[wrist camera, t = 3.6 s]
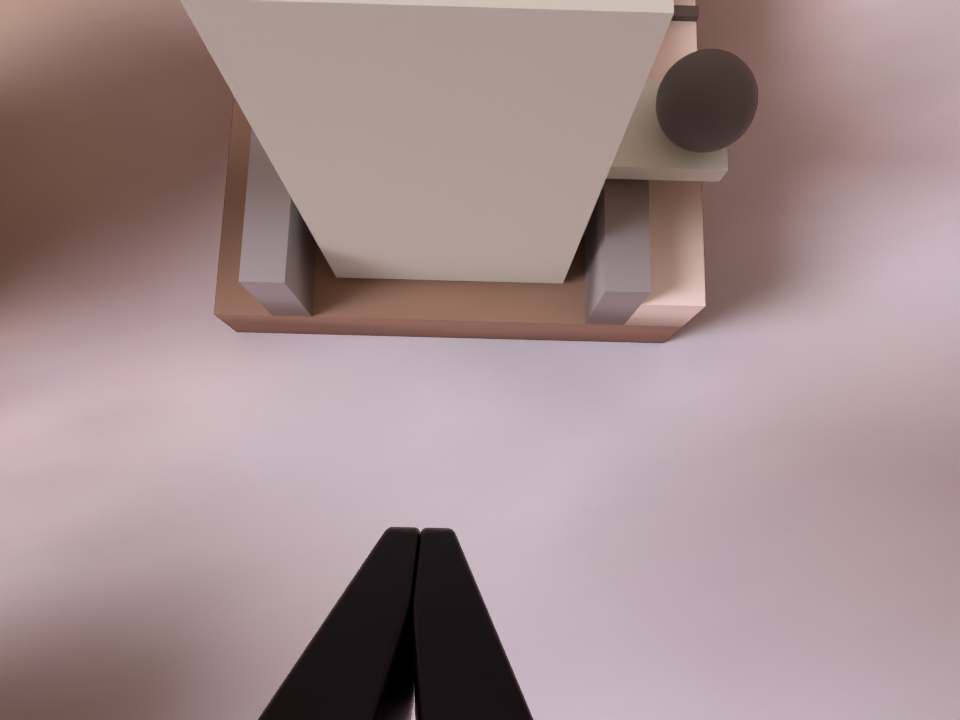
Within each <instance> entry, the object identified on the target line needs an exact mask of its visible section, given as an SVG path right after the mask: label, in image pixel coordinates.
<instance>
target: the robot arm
mask: <svg viewBox="0 0 960 720" xmlns="http://www.w3.org/2000/svg"><path fill="white" fill-rule="evenodd" d="M414 692H415V719H416V720H533V717H532V715H531V713H530V710H529V708H528V706H527V703H526V701H525V698H524V696H523V694H522V691H521V689H520V686H519V684H518V682H517V679H516V677H515V675H514V672H513V670H512V667H511V665H510V663H509V660H508V658H507V655H506V653H505V651H504V648H503V646H502V644H501V641H500V639H499V636H498V634H497V632H496V629H495V627H494V624H493V622H492V620H491V617H490V615H489V613H488V610H487V608H486V605H485V603H484V601H483V598H482V596H481V593H480V591H479V589H478V586H477V584H476V582H475V579H474V577H473V574H472V572H471V570H470V567H469V565H468V562H467V560H466V558H465V555H464V553H463V551H462V548H461V546H460V543H459V541H458V539H457V536H456V534H455V532H454V531H453V530H452V529H449V528H424V529H423V530H422V531H421V534H420V531H419V530H418V529H417V528H413V527H390V528H388V529H387V530H386V531H385V532H384V533H383V535H382V536H381V538H380V539H379V541H378V542H377V544H376V545H375V547H374V548H373V550H372V551H371V553H370V554H369V556H368V557H367V559H366V560H365V561H364V563H363V564H362V566H361V567H360V569H359V570H358V572H357V573H356V575H355V576H354V578H353V579H352V581H351V582H350V584H349V585H348V587H347V588H346V590H345V591H344V593H343V594H342V596H341V597H340V599H339V600H338V601H337V603H336V604H335V606H334V607H333V609H332V610H331V612H330V613H329V615H328V616H327V618H326V619H325V621H324V622H323V624H322V625H321V627H320V628H319V630H318V631H317V633H316V634H315V636H314V637H313V639H312V640H311V641H310V643H309V644H308V646H307V647H306V649H305V650H304V652H303V653H302V655H301V656H300V658H299V659H298V661H297V662H296V664H295V665H294V667H293V668H292V670H291V671H290V673H289V674H288V676H287V677H286V679H285V680H284V681H283V683H282V684H281V686H280V687H279V689H278V690H277V692H276V693H275V695H274V696H273V698H272V699H271V701H270V702H269V704H268V705H267V707H266V708H265V710H264V711H263V713H262V714H261V716H260V717H259V719H258V720H411V716H412V709H413V703H414Z"/></svg>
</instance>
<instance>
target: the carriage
mask: <svg viewBox="0 0 960 720" xmlns="http://www.w3.org/2000/svg"><path fill="white" fill-rule="evenodd" d="M180 2H181V3H182V5H183V7H184V9H185V10H186V12H187V14H188V16H189V17H190V19H191V21H192V23H193V25H194V26H195V28H196V30H197V32H198V33H199V35H200V37H201V39H202V40H203V42H204V44H205V46H206V48H207V49H208V51H209V53H210V55H211V56H212V58H213V60H214V62H215V63H216V65H217V67H218V69H219V71H220V72H221V74H222V76H223V78H224V79H225V81H226V83H227V85H228V87H229V88H230V90H231V92H232V94H233V95H234V97H235V99H236V101H237V102H238V104H239V106H240V108H241V110H242V111H243V113H244V115H245V117H246V118H247V120H248V122H249V124H250V125H251V127H252V129H253V131H254V133H255V134H256V136H257V138H258V140H259V141H260V143H261V145H262V147H263V148H264V150H265V152H266V154H267V156H268V157H269V159H270V161H271V163H272V164H273V166H274V168H275V170H276V171H277V173H278V175H279V177H280V179H281V180H282V182H283V184H284V186H285V187H286V189H287V191H288V193H289V194H290V196H291V198H292V200H293V202H294V203H295V205H296V207H297V209H298V210H299V212H300V214H301V216H302V218H303V219H304V221H305V223H306V225H307V226H308V228H309V230H310V232H311V233H312V235H313V237H314V239H315V241H316V242H317V244H318V246H319V248H320V249H321V251H322V253H323V255H324V256H325V258H326V260H327V262H328V264H329V265H330V267H331V269H332V271H333V272H334V274H335V276H336V278H373V279H410V280H447V281H485V282H522V283H559V284H563V282H564V280H565V277H566V275H567V272H568V270H569V267H570V265H571V263H572V260H573V258H574V255H575V253H576V250H577V248H578V245H579V243H580V241H581V238H582V236H583V233H584V231H585V228H586V226H587V224H588V221H589V219H590V216H591V214H592V211H593V209H594V207H595V204H596V202H597V199H598V197H599V194H600V192H601V190H602V187H603V185H604V182H605V180H606V179H640V180H676V181H712V182H720V180H721V179H722V178H723V176H724V175H725V174H726V173H727V171H728V148H727V146H729V145H730V144H732V143H733V142H735V141H736V140H737V139H739V138H740V137H741V136H742V134H743V133H744V132H745V131H746V130H747V128H748V127H749V126H750V124H751V122H752V120H753V118H754V115H755V112H756V109H757V104H758V89H757V84H756V80H755V78H754V75H753V73H752V72H751V70H750V69H749V67H748V66H747V65H746V64H745V63H744V62H743V61H742V60H741V59H740V58H739V57H737V56H736V55H734V54H732V53H730V52H727V51H723V50H718V49H704V50H699V51H696V52H693V53H690V54H688V55H686V56H684V57H683V58H681V59H680V60H678V61H677V62H676V63H675V64H674V65H673V66H672V67H671V68H670V69H669V70H668V71H667V73H666V74H665V76H664V77H663V79H662V81H661V83H652V82H646V80H647V78H648V75H649V73H650V70H651V68H652V65H653V63H654V61H655V58H656V56H657V53H658V51H659V48H660V46H661V44H662V41H663V39H664V36H665V34H666V31H667V29H668V26H669V24H670V22H671V19H672V17H673V14H674V0H180Z"/></svg>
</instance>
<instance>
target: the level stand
mask: <svg viewBox="0 0 960 720" xmlns="http://www.w3.org/2000/svg"><path fill="white" fill-rule="evenodd" d="M697 19H698V6H696V4H695V0H674V14H673V17H672V19H671V22H670V24H669V26H668V29H667V31H666V34H665V36H664V39H663V41H662V44H661V46H660V48H659V51H658V53H657V56H656V58H655V61H654V63H653V65H652V68H651V70H650V73H649V75H648V78H647V80H646V82H652V83H661V81H662V79H663V77H664V76H665V74H666V73H667V71H668V70H669V69H670V68H671V67H672V66H673V65H674V64H675V63H676V62H677V61H678V60H680V59H681V58H683V57H684V56H686V55H688V54H690V53H693V52H696V51H697V34H696V21H697ZM705 306H706V303H705V273H704V243H703V213H702V183H701V181H676V180H640V179H606V180H605V182H604V185H603V187H602V190H601V192H600V194H599V197H598V199H597V202H596V204H595V207H594V209H593V211H592V214H591V216H590V219H589V221H588V224H587V226H586V228H585V231H584V233H583V236H582V238H581V241H580V243H579V245H578V248H577V250H576V253H575V255H574V258H573V260H572V263H571V265H570V267H569V270H568V272H567V275H566V277H565V280H564V282H563V284H559V283H522V282H485V281H447V280H410V279H373V278H336V276H335V274H334V272H333V271H332V269H331V267H330V265H329V264H328V262H327V260H326V258H325V256H324V255H323V253H322V251H321V249H320V248H319V246H318V244H317V242H316V241H315V239H314V237H313V235H312V233H311V232H310V230H309V228H308V226H307V225H306V223H305V221H304V219H303V218H302V216H301V214H300V212H299V210H298V209H297V207H296V205H295V203H294V202H293V200H292V198H291V196H290V194H289V193H288V191H287V189H286V187H285V186H284V184H283V182H282V180H281V179H280V177H279V175H278V173H277V171H276V170H275V168H274V166H273V164H272V163H271V161H270V159H269V157H268V156H267V154H266V152H265V150H264V148H263V147H262V145H261V143H260V141H259V140H258V138H257V136H256V134H255V133H254V131H253V129H252V127H251V125H250V124H249V122H248V120H247V118H246V117H245V115H244V113H243V111H242V110H241V108H240V106H239V104H238V102H237V101H236V99H235V97H234V102H233V113H232V124H231V134H230V145H229V156H228V167H227V178H226V188H225V199H224V210H223V221H222V232H221V243H220V253H219V264H218V275H217V286H216V297H215V307H214V315H216V316H217V317H218V318H219V319H221V320H222V321H223V322H225V323H226V324H227V325H228V326H230V327H231V328H232V329H234V330H235V331H236V332H256V333H294V334H332V335H371V336H409V337H447V338H485V339H523V340H562V341H600V342H638V343H664V342H665V341H666V340H667V339H669V338H670V337H671V336H672V335H673V334H674V333H675V332H677V331H678V330H679V329H680V328H681V327H682V326H684V325H685V324H686V323H687V322H688V321H689V320H690V319H692V318H693V317H694V316H695V315H696V314H697V313H698V312H700V311H701V310H702V309H703V308H704V307H705Z"/></svg>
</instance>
